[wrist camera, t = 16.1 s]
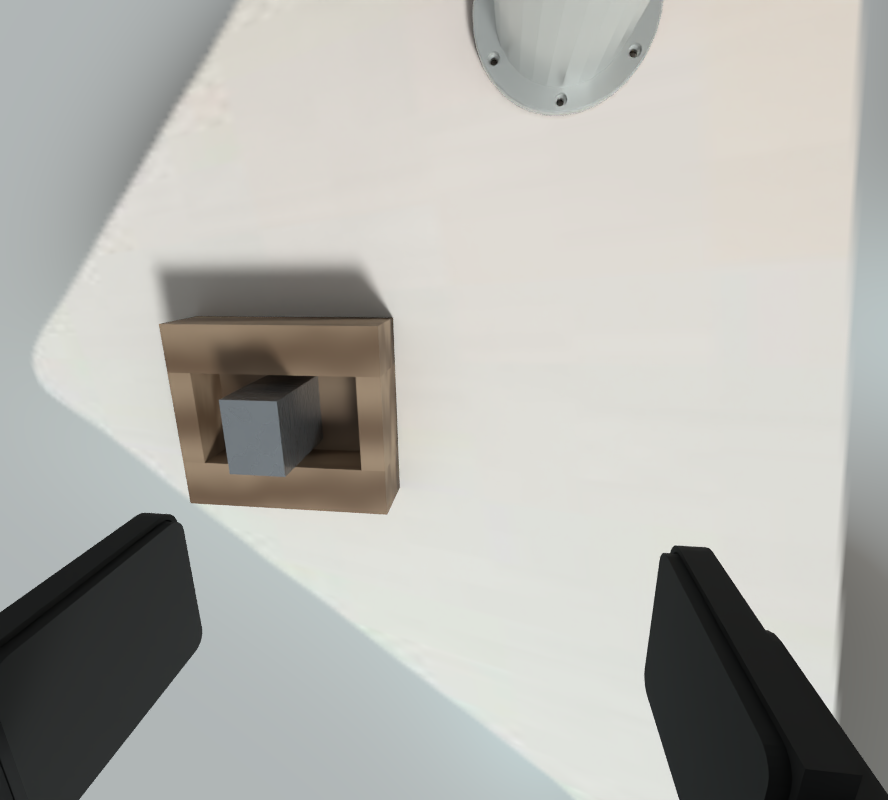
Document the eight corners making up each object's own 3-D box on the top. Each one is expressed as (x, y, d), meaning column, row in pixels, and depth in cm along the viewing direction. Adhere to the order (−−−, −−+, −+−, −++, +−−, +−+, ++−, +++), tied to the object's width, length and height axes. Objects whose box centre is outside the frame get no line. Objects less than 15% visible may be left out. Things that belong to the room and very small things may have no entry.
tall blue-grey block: (269, 373, 44) (218, 399, 36) (317, 374, 43) (276, 401, 36) (276, 436, 45) (229, 474, 38) (323, 438, 45) (285, 476, 37)
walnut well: (196, 316, 44) (159, 324, 39) (392, 317, 42) (377, 326, 37) (221, 478, 49) (190, 503, 44) (399, 487, 46) (387, 514, 42)
